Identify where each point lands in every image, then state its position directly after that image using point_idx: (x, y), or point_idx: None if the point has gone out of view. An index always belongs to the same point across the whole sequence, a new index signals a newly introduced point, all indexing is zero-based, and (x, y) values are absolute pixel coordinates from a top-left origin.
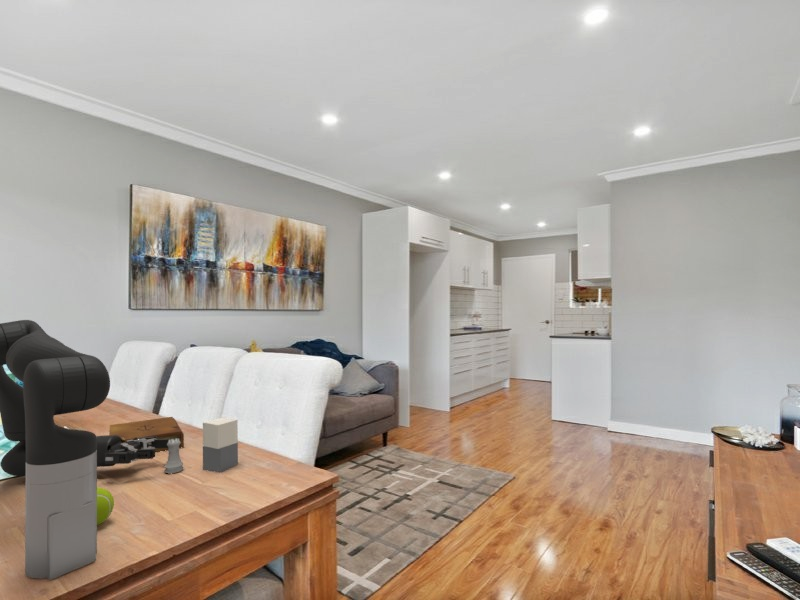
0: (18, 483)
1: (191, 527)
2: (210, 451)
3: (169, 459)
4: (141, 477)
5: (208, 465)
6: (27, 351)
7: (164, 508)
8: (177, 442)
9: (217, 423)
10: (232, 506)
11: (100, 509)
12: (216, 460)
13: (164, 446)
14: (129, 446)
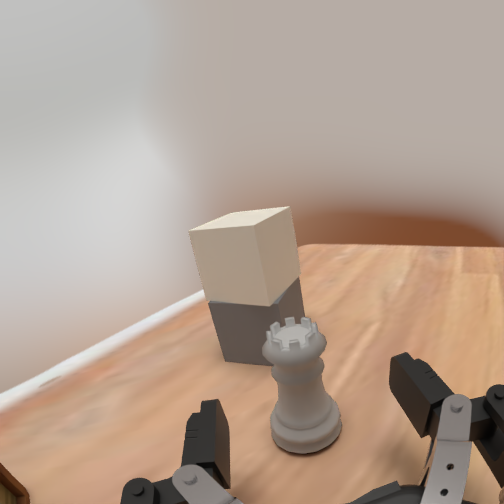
0: None
1: (486, 256)
2: (289, 299)
3: (325, 396)
4: None
5: None
6: None
7: (487, 297)
8: (299, 325)
9: (269, 211)
10: (426, 258)
11: None
12: (299, 309)
13: (227, 441)
14: (453, 455)
